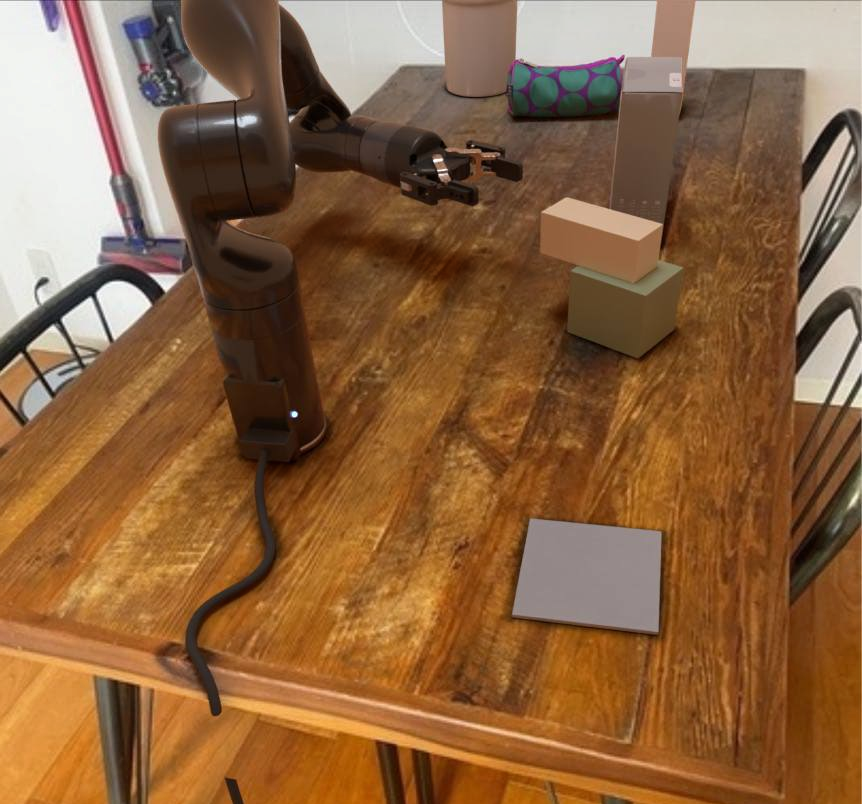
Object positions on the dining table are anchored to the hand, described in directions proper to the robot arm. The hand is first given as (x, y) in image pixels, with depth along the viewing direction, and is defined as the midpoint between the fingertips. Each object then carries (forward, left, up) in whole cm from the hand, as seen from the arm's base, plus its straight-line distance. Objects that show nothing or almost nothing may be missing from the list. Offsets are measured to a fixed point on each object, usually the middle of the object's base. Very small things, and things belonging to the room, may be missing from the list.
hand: (499, 184), depth 104 cm
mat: (-50, -16, -13) cm, 54 cm away
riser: (-9, -16, -13) cm, 23 cm away
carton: (-7, -13, -3) cm, 15 cm away
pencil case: (+66, -2, -14) cm, 67 cm away
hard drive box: (+21, -17, -14) cm, 30 cm away
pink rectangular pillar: (+67, -20, -14) cm, 71 cm away
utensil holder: (+82, +16, -14) cm, 84 cm away
